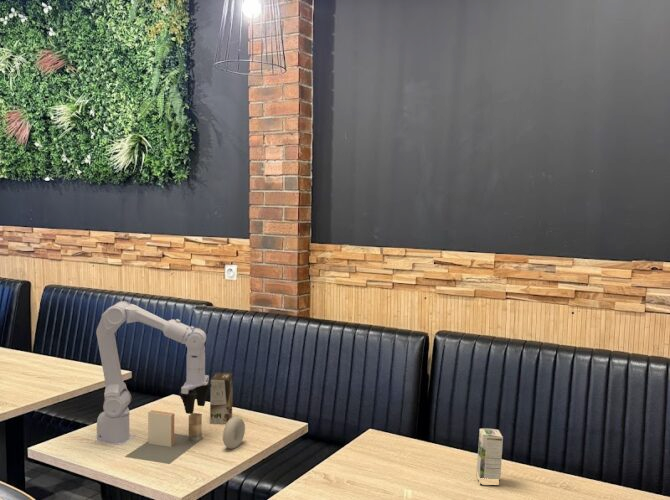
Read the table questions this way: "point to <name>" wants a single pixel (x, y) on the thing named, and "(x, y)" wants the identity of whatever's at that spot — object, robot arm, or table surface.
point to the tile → (161, 428)
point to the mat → (163, 450)
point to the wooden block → (195, 427)
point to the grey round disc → (233, 432)
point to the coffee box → (221, 398)
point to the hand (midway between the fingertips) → (195, 409)
